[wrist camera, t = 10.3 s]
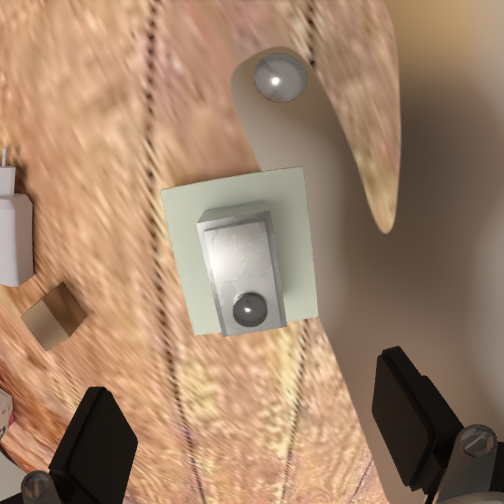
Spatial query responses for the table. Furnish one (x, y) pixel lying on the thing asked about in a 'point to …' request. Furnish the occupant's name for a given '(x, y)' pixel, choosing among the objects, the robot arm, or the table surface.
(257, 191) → the stand
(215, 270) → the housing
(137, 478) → the table surface
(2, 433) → the white product box
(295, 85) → the grey disc
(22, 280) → the charger
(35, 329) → the walnut block
